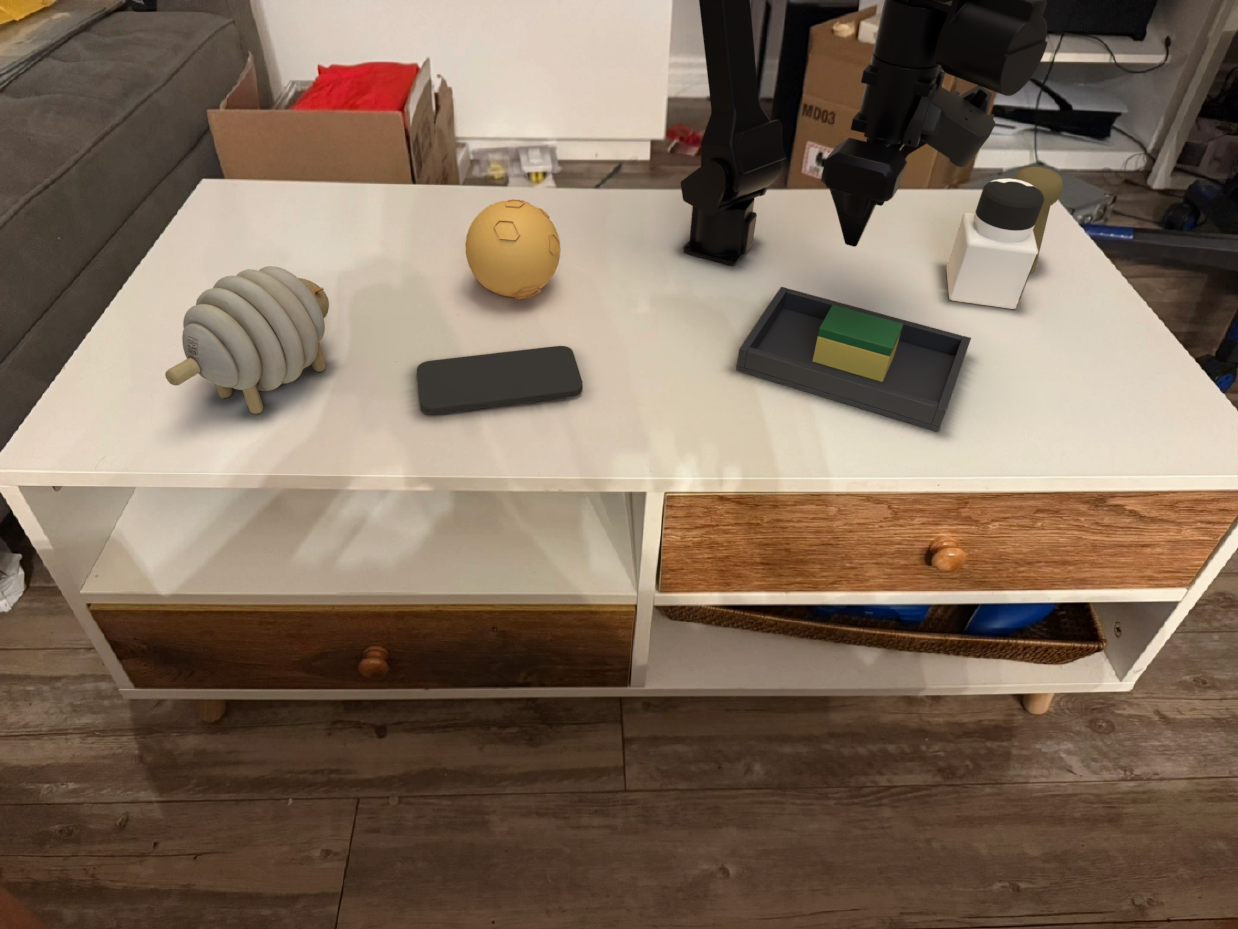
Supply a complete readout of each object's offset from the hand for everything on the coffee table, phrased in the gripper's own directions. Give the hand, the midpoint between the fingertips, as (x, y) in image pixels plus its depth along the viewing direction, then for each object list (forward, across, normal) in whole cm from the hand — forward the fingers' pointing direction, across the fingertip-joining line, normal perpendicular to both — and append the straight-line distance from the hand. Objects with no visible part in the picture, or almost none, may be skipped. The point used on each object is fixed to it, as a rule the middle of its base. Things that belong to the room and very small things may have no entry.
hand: (864, 223), depth 86 cm
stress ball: (+12, -12, +33) cm, 37 cm away
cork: (+11, +21, -14) cm, 28 cm away
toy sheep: (+12, -37, +44) cm, 59 cm away
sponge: (+10, -7, -3) cm, 13 cm away
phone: (+11, -27, +25) cm, 38 cm away
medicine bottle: (+11, +14, -12) cm, 21 cm away
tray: (+11, -7, -3) cm, 14 cm away
